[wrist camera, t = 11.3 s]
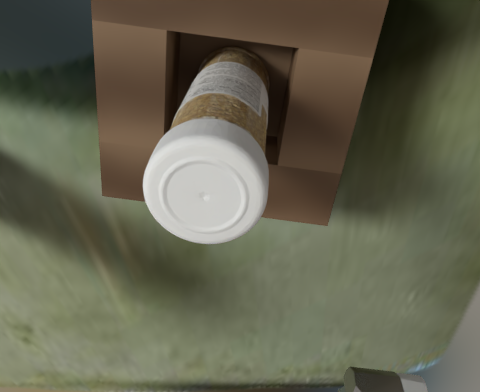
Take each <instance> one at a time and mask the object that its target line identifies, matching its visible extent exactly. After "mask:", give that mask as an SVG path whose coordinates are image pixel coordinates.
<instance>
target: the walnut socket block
mask: <svg viewBox="0 0 480 392" xmlns="http://www.w3.org/2000/svg"><path fill="white" fill-rule="evenodd" d="M388 2H389V0H91V9H92V26H93V43H94V61H95V78H96V95H97V113H98V130H99V147H100V164H101V181H102V196H107V197H114V198H122V199H129V200H137V201H144V202H146V201H145V198H144V193H143V177H144V172H145V169H146V167H147V164H148V162H149V159H150V157H151V155H152V153H153V151H154V149H155V147H156V145H157V144H158V142H159V141H160V139H161V138H162V137H163V136H164V135H165V134H166V133H167V132H168V131H169V130H170V129H171V127H172V123H173V120H174V117H175V115H176V113H177V111H178V109H179V107H180V106H181V104H182V102H183V100H184V98H185V96H186V94H187V92H188V90H189V88H190V86H191V84H192V83H193V81H194V79H195V78H196V76H197V73H198V69H199V68H200V65H201V63H202V62H203V60H204V59H205V58H206V57H207V56H208V55H209V54H211V53H212V52H214V51H216V50H218V49H220V48H224V47H240V48H243V49H246V50H248V51H250V52H252V53H254V54H255V55H256V56H257V57H258V58H259V59H260V60H261V62H262V63H263V64H264V66H265V68H266V70H267V72H268V76H269V81H270V87H269V93H268V124H267V129H266V144H265V158H266V160H267V163H268V169H269V185H268V198H267V203H266V207H265V210H264V212H263V214H262V216H261V217H264V218H272V219H279V220H287V221H294V222H302V223H309V224H317V225H324V226H328V222H329V218H330V215H331V211H332V207H333V204H334V200H335V196H336V193H337V189H338V185H339V182H340V178H341V174H342V171H343V167H344V163H345V160H346V156H347V152H348V149H349V145H350V141H351V138H352V134H353V130H354V127H355V123H356V119H357V116H358V112H359V108H360V105H361V101H362V97H363V94H364V90H365V86H366V83H367V79H368V75H369V72H370V68H371V64H372V61H373V57H374V53H375V50H376V46H377V42H378V39H379V35H380V31H381V28H382V24H383V20H384V17H385V13H386V9H387V6H388Z"/></svg>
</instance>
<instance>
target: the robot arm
mask: <svg viewBox="0 0 480 392" xmlns="http://www.w3.org/2000/svg"><path fill="white" fill-rule="evenodd" d="M344 384H345V386H344V387H342V388H340V389H339V390H338V392H428V390H427V387H426V384H425V381H424V380H423V379H422V377H421V376H418V375H410V374H402V373H395V372H392V371H383V370H375V369H366V368H358V367H349V368H348V369H347V370H346V372H345V374H344Z"/></svg>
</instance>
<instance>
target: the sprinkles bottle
mask: <svg viewBox="0 0 480 392" xmlns="http://www.w3.org/2000/svg"><path fill="white" fill-rule="evenodd" d="M269 87H270V81H269V76H268V72H267V70H266V68H265V66H264V64H263V63H262V62H261V60H260V59H259V58H258V57H257V56H256V55H255V54H254V53H252V52H250V51H248V50H246V49H243V48H240V47H224V48H220V49H218V50H216V51H214V52H212V53H211V54H209V55H208V56H207V57H206V58H205V59H204V60H203V62H202V63H201V65H200V68H199V69H198V73H197V76H196V78H195V79H194V81H193V83H192V84H191V86H190V88H189V90H188V92H187V94H186V96H185V98H184V100H183V102H182V104H181V106H180V107H179V109H178V111H177V113H176V115H175V117H174V120H173V123H172V127H171V129H170V130H169V131H168V132H167V133H166V134H165V135H164V136H163V137H162V138H161V139H160V141H159V142H158V144H157V145H156V147H155V149H154V151H153V153H152V155H151V157H150V159H149V162H148V164H147V167H146V169H145V172H144V177H143V193H144V198H145V201H146V204H147V206H148V208H149V210H150V212H151V214H152V215H153V217H154V218H155V219H156V220H157V221H158V222H159V223H160V224H161V225H162V226H163V227H164V228H165V229H166V230H168V231H169V232H171V233H172V234H174V235H176V236H178V237H180V238H182V239H185V240H188V241H191V242H195V243H202V244H217V243H223V242H228V241H231V240H234V239H236V238H238V237H240V236H242V235H244V234H245V233H247V232H248V231H249V230H250V229H251V228H253V226H254V225H256V223H257V222H258V220H259V219H260V218H261V216H262V214H263V212H264V210H265V207H266V203H267V198H268V185H269V169H268V163H267V160H266V158H265V144H266V129H267V124H268V93H269Z"/></svg>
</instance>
